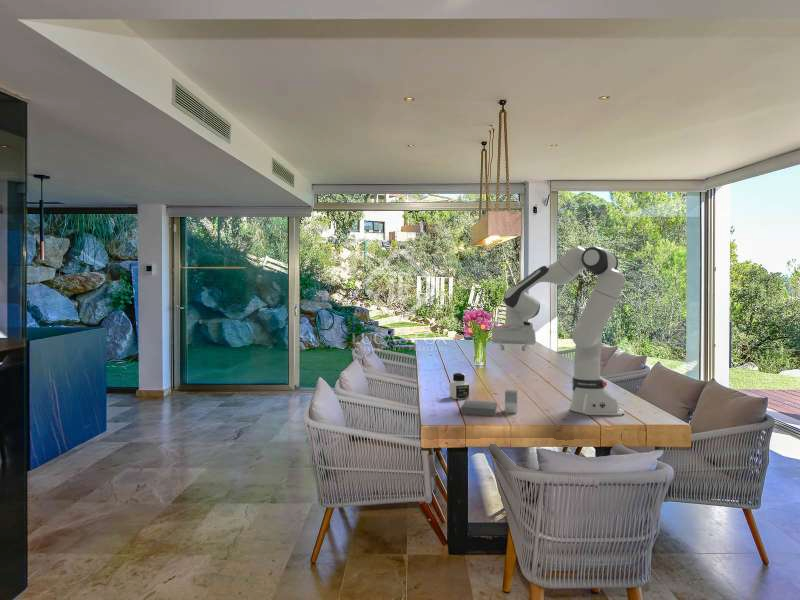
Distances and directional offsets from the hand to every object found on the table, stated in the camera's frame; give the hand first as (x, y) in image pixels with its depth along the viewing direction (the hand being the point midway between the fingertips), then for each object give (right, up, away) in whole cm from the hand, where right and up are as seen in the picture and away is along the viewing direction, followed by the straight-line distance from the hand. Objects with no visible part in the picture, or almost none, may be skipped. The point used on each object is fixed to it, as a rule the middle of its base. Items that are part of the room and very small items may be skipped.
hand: (512, 349), depth 247 cm
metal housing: (-4, -26, -13) cm, 29 cm away
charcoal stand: (-17, -26, -13) cm, 33 cm away
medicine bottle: (-23, -25, +16) cm, 37 cm away
